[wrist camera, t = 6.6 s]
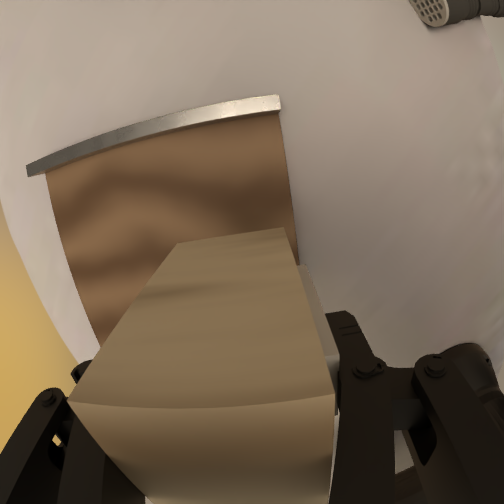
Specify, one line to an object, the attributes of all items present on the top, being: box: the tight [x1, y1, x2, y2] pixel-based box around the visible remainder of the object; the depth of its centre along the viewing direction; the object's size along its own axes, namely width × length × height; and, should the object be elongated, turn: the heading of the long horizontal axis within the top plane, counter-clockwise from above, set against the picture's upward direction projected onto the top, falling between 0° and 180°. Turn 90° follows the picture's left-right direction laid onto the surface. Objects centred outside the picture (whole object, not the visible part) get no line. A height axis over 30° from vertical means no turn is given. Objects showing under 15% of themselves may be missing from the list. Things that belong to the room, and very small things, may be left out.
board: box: [26, 94, 299, 347], centre depth 27 cm, size 26×24×4 cm
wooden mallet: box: [67, 227, 335, 504], centre depth 11 cm, size 13×5×10 cm, turn 9°
